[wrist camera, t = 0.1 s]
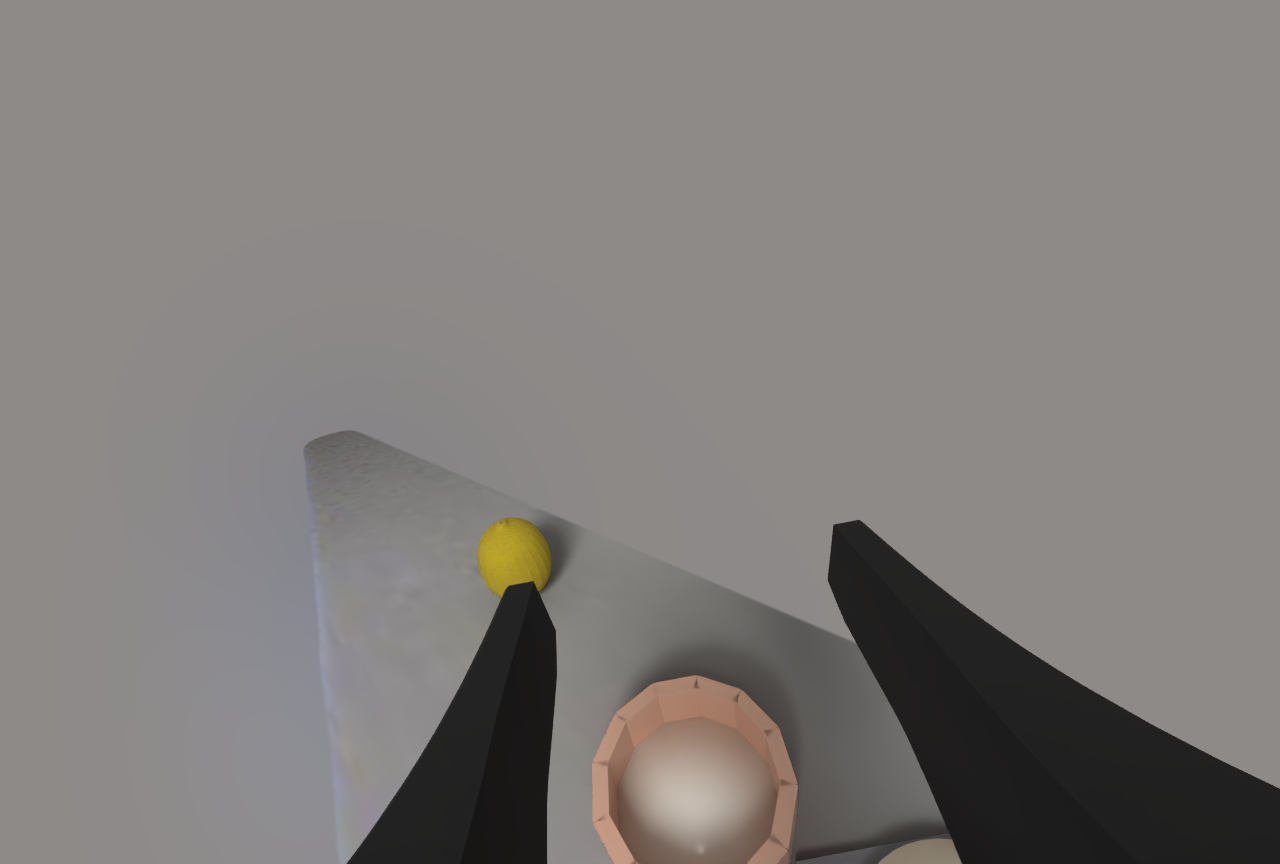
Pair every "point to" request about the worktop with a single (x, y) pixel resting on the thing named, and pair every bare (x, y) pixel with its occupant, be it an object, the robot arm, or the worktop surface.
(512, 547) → the lemon
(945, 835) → the mat
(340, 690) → the worktop surface
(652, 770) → the bowl
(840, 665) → the worktop surface
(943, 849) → the lid
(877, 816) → the worktop surface
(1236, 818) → the robot arm
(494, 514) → the worktop surface
